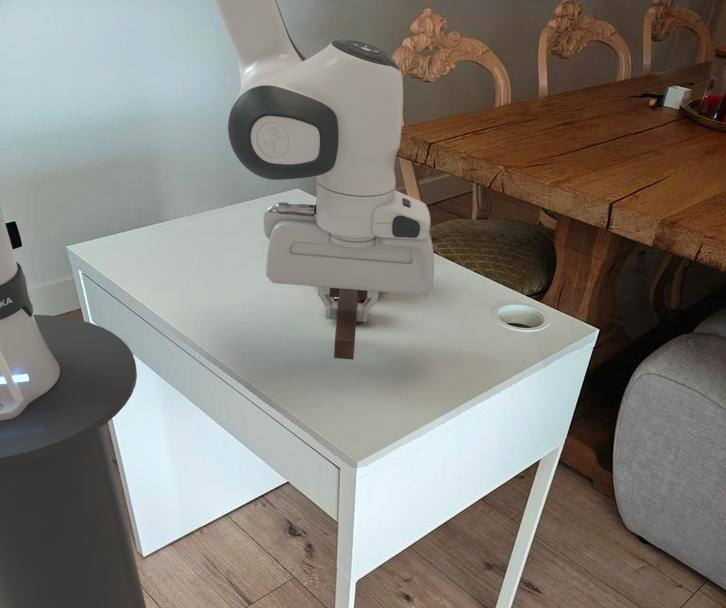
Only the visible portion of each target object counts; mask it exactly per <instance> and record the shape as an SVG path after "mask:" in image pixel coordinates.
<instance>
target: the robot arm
mask: <svg viewBox="0 0 726 608" xmlns="http://www.w3.org/2000/svg"><path fill="white" fill-rule="evenodd" d="M211 1H212V4H213V6H214V8H215V10H216V13H217V16H218V18H219V21H220V22H221V25H222V27H223V30H224V32H225V34H226V36H227V40H228V41H229V43H230V46H231V48H232V51H233V53H234V55H235V58H236V60H237V64H238V68H239V76H240V77H239V78H240V90H239V93H238V94H237V96H236V98H235V100H234V102H233V105H232V108H231V109H230V112H229V116H228V122H227V131H228V132H227V133H228V139H229V144H230V146H231V148H232V151H233V153H234V155H235V156H236V158H237V159H238V161H239V162H240V163H241V164H242V165H243V167H244V168H245V169H247V170H248V171H249V172H250V173H253V174H254V175H256V176H258V177H259V178H262V179H266V180H273V181H282V180H283V181H284V180H295V179H296V180H297V179H305V178H312V177H316V199H315V204H309V203H308V204H306V203H305V204H304V203H289V202H285V201H283V202H282V201H281V202H277V203H276V205H272V206H270V207H268V208H267V209H266V211H264V215H263V231H264V235H265V236H266V238H267V239H268V240H269V241H268V245H267V253H266V261H265V262H266V263H265V276H266V277H267V278H268V280H270V282H271V283H273V284H279V285H280V284H281V285H291V286H303V287H314V288H315V287H317V288H318V289H317V295H319V296H318V297H319V298H320V300H321V302H322V303H323V306H324V307H325V319H326V320H337V310H338V301H334V300H333V298H332V297H330V295H329V292H330V288H340V289H352V290H365V291H367V299H366V300H365V301H364V303H357V316H356V321H361V322H364V323H367V322H368V317H369V311H370V310H371V309H372V307H373V306H374V305H375V304H376V303H377V300H378V301H379V297H378V295H379V296H380V293H392V294H402V295H414V296H425V295H427V294H428V293H429V292H431V290H432V289H433V285H434V279H435V278H434V277H435V257H434V255H435V253H434V244H433V240H432V235H431V233H430V231H431V224H432V223H431V222H432V221H431V213H430V211H429V208H428V206H427V204H426V203H425V202H424V201H421V200H419V199H416V198H414V197H411V196H409V195H408V194H405V193H403V192H400V191H398V190H396V187H397V178H396V173H395V162H396V157H397V155H398V152H399V149H400V146H401V139H402V128H403V116H404V81H403V80H404V79H403V73H402V70H401V69H400V67H399V65H398V63H397V62H396V60H395V59H394V58H393V57H392V56H391V55H390V54H389V53H388V52H386V51H385V50H382V49H381V48H379V47H376V46H373V45H371V44H368V43H366V42H362V41H357V40H354V39H353V40H352V39H350V40H349V39H346V38H345V39H343V38H340V39H336V40H332V41H331V42H330V43H329V44H328V45H327V46H326V47H325V48H323V49H322V50H320V51H319V52H317V53H316V54H314V55H312V56H310V57H308V58H306V56H304V54H303V53H302V52H301V51H300V50H299V48H298V47H297V46H296V44H295V43H294V41H293V40H292V38H291V35H290V34H289V31H288V29H287V26H286V23H285V21H284V18H283V16H282V13H281V10H280V6H279V5H278V2H277V0H211ZM11 242H12V241H11V237H10V235H9V232H8V227H7V224H6V221H5V217H4V214H3V211H2V207H1V205H0V421H1V420H9V419H13V418H15V417H17V416H18V415H19V414H20V413H21V412H22V411H23V410H24V409H25V408H26V406H27V405H28V404H29V403H30V402H32V401H33V400H35V399H37V398H38V397H40V396H42V395H43V394H45V393H46V392H47V391H48V390H50V389H51V388H52V387H53V386H54V384H55V383H56V382H57V380H58V378H59V375H60V366H59V364H58V362H57V361H56V359H55V358H54V357H53V355H52V353H51V352H50V350H49V348H48V346H47V345H46V343H45V341H44V339H43V337H42V335H41V333H40V330H39V328H38V326H37V323H36V321H35V318H34V316H33V315H34V308H33V307H34V303H33V298H32V296H31V291H30V287H29V284H28V280H27V277H26V274H25V273H24V271H23V269H22V266H21V264H20V263H19V262H18V261H17V260H16V256H15V252H14V250H13V246H12V243H11Z"/></svg>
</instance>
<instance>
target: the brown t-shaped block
mask: <svg viewBox="0 0 726 608" xmlns="http://www.w3.org/2000/svg"><path fill="white" fill-rule="evenodd" d="M317 295H318V294H317ZM329 295H330V297H331V298H333V297H337V298H339V299H338V310H337V319H336V322H335V334H334V349H333V350H334V351H333V358H334V359H339V360H341V359H342V360H354V356H355V345H356V330H357V322H356V316H357V300H358V299H362V300H366V299H367V291H365V290H352V289H340V288H330V292H329ZM318 297H319V295H318ZM379 297H380V294H379V295H378V298H379ZM377 301H379V299H378V300H377ZM377 301H376V302H377Z"/></svg>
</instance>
